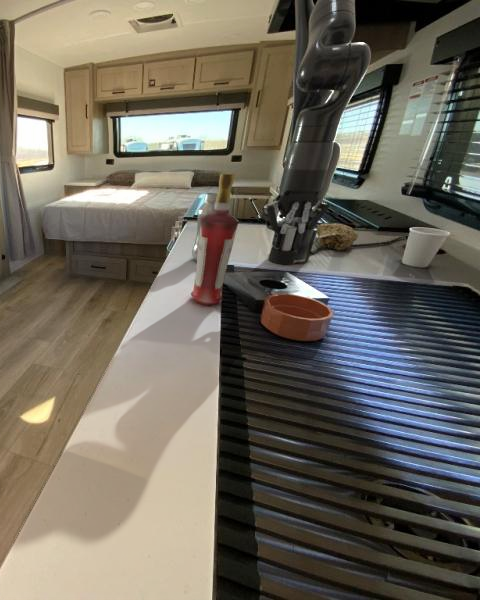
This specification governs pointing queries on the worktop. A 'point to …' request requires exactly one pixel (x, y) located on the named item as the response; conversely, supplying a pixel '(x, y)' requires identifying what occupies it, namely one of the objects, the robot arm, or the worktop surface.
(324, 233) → the sponge
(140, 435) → the worktop surface
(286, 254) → the plug
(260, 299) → the sink plate
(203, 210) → the plastic bottle
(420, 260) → the dixie cup
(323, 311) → the bowl
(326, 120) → the robot arm
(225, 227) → the liquor
